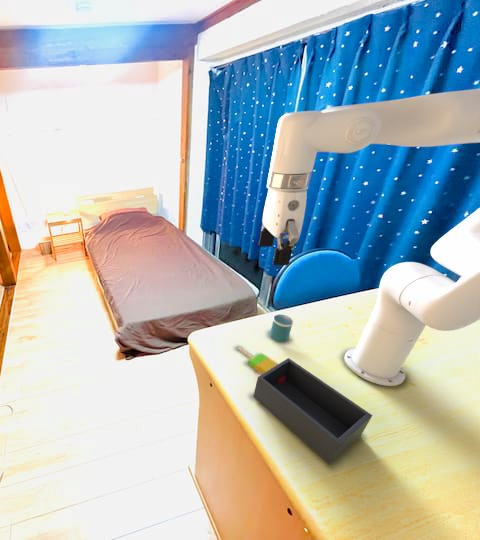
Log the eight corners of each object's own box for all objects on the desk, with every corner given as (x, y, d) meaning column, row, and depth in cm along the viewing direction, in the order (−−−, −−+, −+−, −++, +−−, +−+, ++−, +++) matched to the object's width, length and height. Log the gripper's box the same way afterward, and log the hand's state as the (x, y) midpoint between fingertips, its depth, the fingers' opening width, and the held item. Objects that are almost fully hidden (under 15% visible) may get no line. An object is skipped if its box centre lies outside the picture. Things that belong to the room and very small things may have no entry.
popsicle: (232, 355, 86) (278, 388, 75) (231, 349, 85) (277, 382, 73) (244, 345, 88) (291, 375, 76) (243, 339, 86) (291, 369, 74)
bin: (282, 377, 76) (288, 357, 73) (360, 436, 61) (372, 415, 58) (253, 396, 72) (257, 376, 68) (329, 465, 57) (340, 444, 53)
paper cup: (276, 328, 93) (281, 312, 89) (292, 338, 88) (297, 321, 85) (265, 334, 91) (269, 318, 87) (281, 345, 86) (285, 327, 83)
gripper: (330, 189, 49) (306, 273, 57) (290, 171, 64) (275, 240, 72) (285, 191, 50) (268, 273, 58) (256, 173, 65) (245, 240, 73)
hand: (272, 254), depth 65 cm, fingers open, 9 cm apart
